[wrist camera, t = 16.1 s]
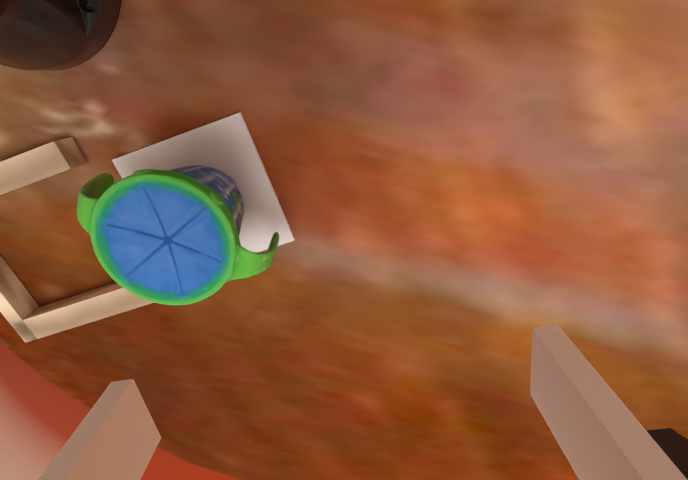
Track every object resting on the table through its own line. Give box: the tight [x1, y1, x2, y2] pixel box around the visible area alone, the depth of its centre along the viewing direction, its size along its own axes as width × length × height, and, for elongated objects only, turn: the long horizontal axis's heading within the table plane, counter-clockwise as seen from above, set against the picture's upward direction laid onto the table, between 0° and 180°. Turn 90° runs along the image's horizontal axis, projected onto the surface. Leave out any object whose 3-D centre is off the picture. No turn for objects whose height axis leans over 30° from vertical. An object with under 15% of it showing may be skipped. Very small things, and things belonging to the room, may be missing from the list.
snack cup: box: [77, 165, 279, 305], centre depth 33 cm, size 16×10×10 cm
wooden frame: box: [0, 137, 154, 343], centre depth 39 cm, size 17×16×2 cm
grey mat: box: [112, 112, 295, 252], centre depth 38 cm, size 13×13×1 cm
